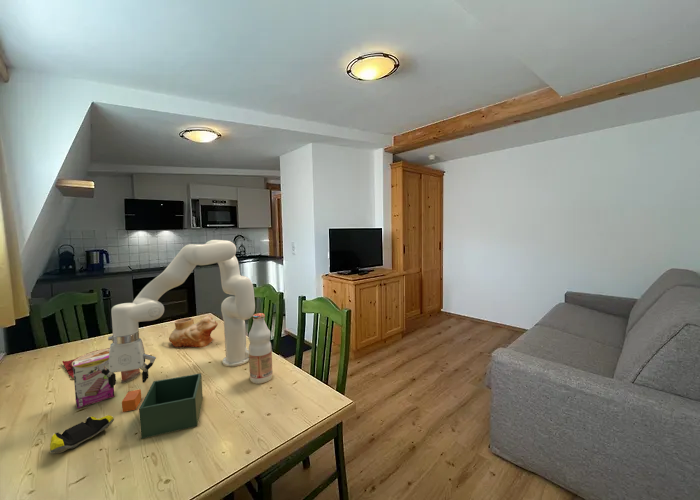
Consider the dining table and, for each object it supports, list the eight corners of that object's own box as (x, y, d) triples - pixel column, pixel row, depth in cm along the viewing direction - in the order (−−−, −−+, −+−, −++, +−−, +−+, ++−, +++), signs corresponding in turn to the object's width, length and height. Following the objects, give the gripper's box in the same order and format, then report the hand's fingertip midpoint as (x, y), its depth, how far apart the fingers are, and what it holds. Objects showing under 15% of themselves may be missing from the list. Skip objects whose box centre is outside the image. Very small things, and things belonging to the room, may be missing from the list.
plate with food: (62, 365, 143) (61, 358, 143) (126, 346, 163) (126, 340, 163) (72, 381, 129) (71, 374, 128) (142, 358, 149) (141, 352, 148)
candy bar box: (76, 409, 108) (72, 366, 106) (76, 404, 111) (71, 361, 110) (115, 397, 116) (112, 356, 114) (113, 391, 119) (110, 352, 118)
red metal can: (125, 383, 126) (123, 360, 125) (119, 382, 126) (117, 359, 125) (142, 373, 134) (140, 352, 133) (136, 373, 134) (134, 351, 133)
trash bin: (202, 397, 115) (201, 373, 114) (197, 426, 98) (195, 397, 97) (155, 406, 109) (153, 381, 108) (141, 438, 93) (138, 409, 92)
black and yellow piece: (117, 430, 97) (101, 422, 101) (116, 414, 96) (99, 406, 100) (56, 464, 83) (40, 452, 88) (54, 446, 83) (38, 435, 87)
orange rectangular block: (141, 399, 114) (140, 389, 114) (135, 409, 108) (135, 399, 107) (129, 401, 113) (128, 391, 112) (122, 412, 106) (121, 401, 106)
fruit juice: (247, 384, 123) (243, 318, 121) (253, 373, 133) (250, 311, 130) (269, 383, 124) (267, 318, 121) (274, 372, 133) (272, 311, 131)
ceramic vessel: (211, 348, 160) (210, 321, 159) (163, 348, 160) (161, 321, 159) (223, 338, 174) (221, 313, 173) (178, 338, 174) (176, 313, 173)
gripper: (92, 345, 101) (95, 393, 102) (151, 338, 107) (154, 384, 109) (101, 337, 108) (104, 383, 109) (156, 331, 114) (159, 374, 116)
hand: (129, 383), depth 109 cm, fingers open, 9 cm apart
